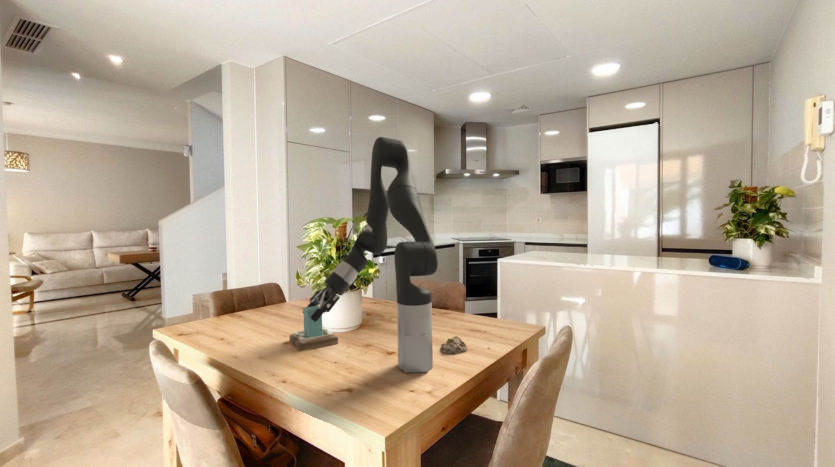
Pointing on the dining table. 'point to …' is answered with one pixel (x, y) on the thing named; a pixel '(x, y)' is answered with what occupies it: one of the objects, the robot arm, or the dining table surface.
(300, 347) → the block
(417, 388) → the dining table surface
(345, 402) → the dining table surface
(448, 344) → the mineral rock
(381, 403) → the dining table surface
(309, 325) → the teal block
